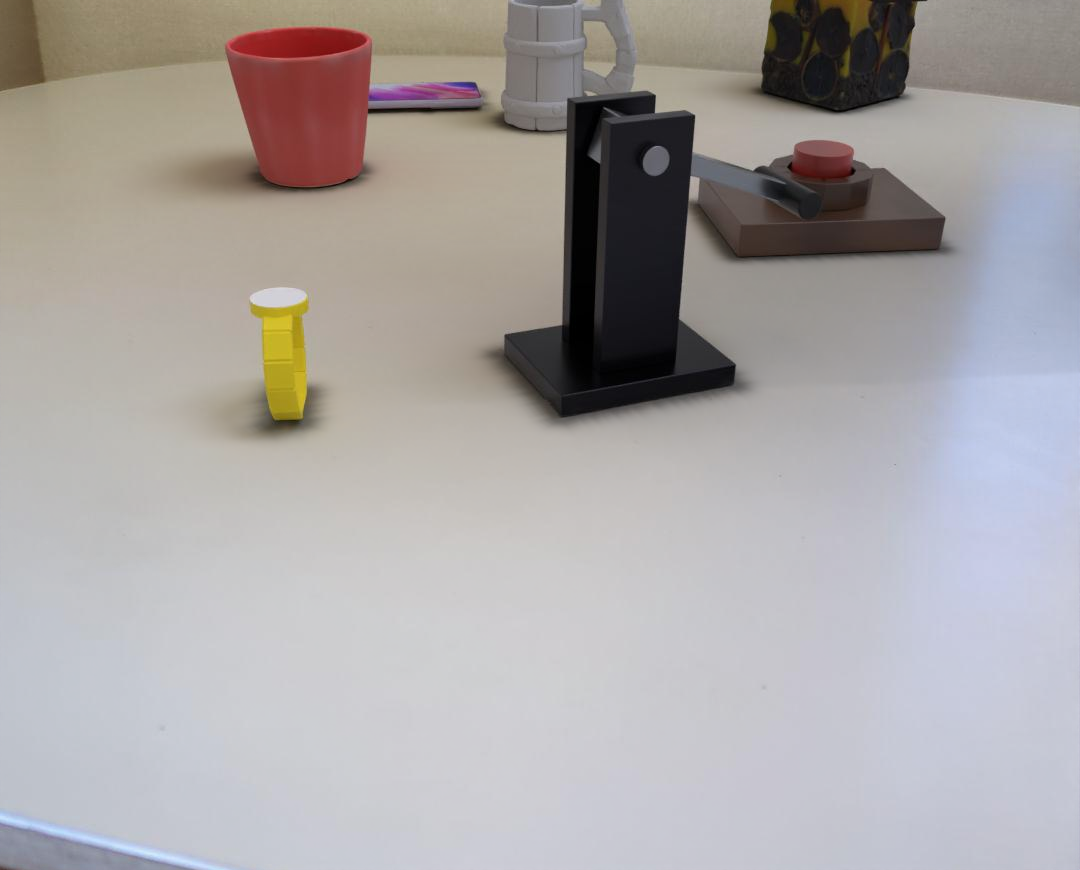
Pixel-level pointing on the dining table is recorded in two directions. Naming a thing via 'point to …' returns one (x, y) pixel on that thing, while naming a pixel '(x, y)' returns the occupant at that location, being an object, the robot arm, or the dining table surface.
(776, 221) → the switch block
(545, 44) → the mug
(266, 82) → the flower pot
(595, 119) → the switch bracket
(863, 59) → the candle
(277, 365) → the watch
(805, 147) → the button
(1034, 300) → the dining table surface
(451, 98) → the smartphone
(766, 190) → the switch lever
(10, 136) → the dining table surface
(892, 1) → the robot arm
